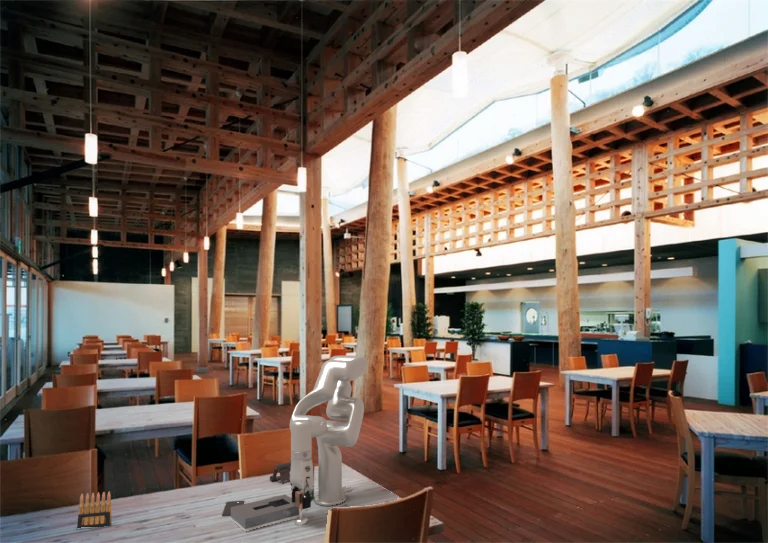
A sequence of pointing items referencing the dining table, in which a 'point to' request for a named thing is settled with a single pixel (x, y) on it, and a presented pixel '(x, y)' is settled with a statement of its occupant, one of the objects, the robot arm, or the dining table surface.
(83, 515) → the ammunition clip
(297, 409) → the robot arm
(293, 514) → the keyhole plate
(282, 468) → the portable electronic device stand
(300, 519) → the peg
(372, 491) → the dining table surface
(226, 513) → the smartphone
